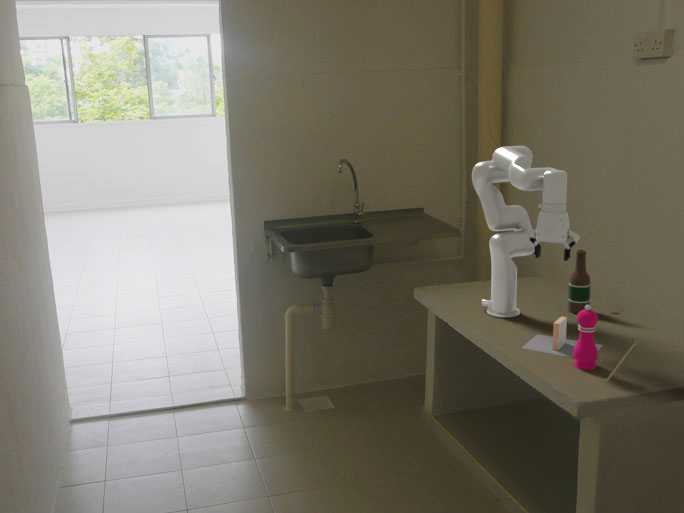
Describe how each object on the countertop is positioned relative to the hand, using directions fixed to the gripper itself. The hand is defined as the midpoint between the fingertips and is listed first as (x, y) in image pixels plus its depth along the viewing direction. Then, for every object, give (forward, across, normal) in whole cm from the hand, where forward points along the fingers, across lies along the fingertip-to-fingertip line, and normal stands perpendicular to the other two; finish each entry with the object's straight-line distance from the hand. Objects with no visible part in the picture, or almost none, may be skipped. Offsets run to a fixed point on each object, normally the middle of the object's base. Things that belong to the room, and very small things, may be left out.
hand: (552, 258), depth 231 cm
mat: (+28, +7, -7) cm, 30 cm away
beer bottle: (+28, 0, +36) cm, 46 cm away
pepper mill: (+28, +18, -20) cm, 39 cm away
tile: (+28, +6, -7) cm, 29 cm away
